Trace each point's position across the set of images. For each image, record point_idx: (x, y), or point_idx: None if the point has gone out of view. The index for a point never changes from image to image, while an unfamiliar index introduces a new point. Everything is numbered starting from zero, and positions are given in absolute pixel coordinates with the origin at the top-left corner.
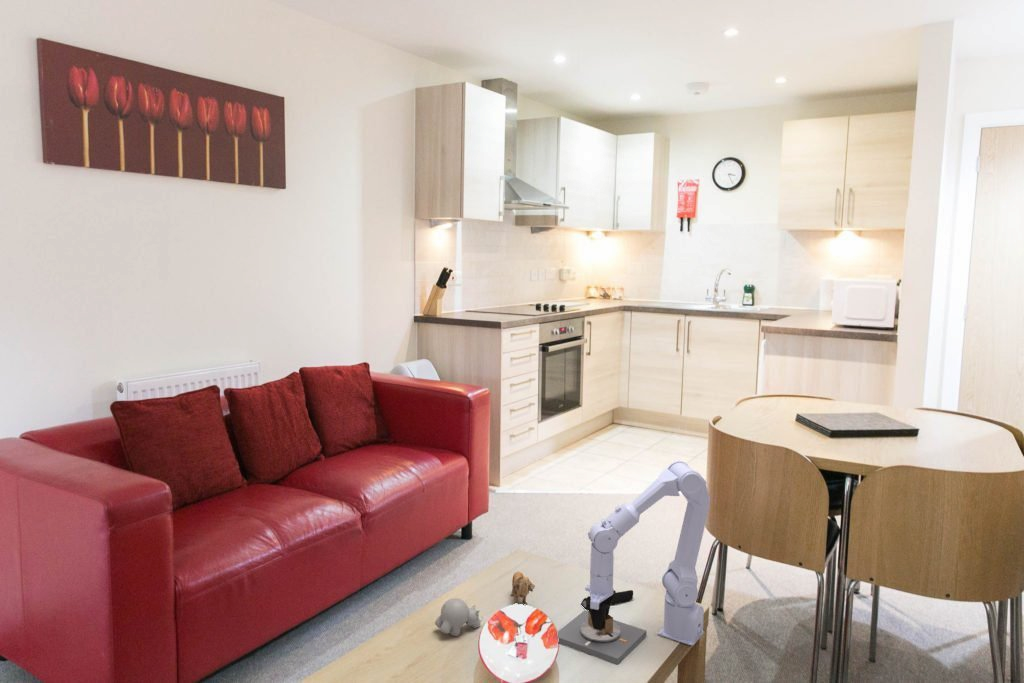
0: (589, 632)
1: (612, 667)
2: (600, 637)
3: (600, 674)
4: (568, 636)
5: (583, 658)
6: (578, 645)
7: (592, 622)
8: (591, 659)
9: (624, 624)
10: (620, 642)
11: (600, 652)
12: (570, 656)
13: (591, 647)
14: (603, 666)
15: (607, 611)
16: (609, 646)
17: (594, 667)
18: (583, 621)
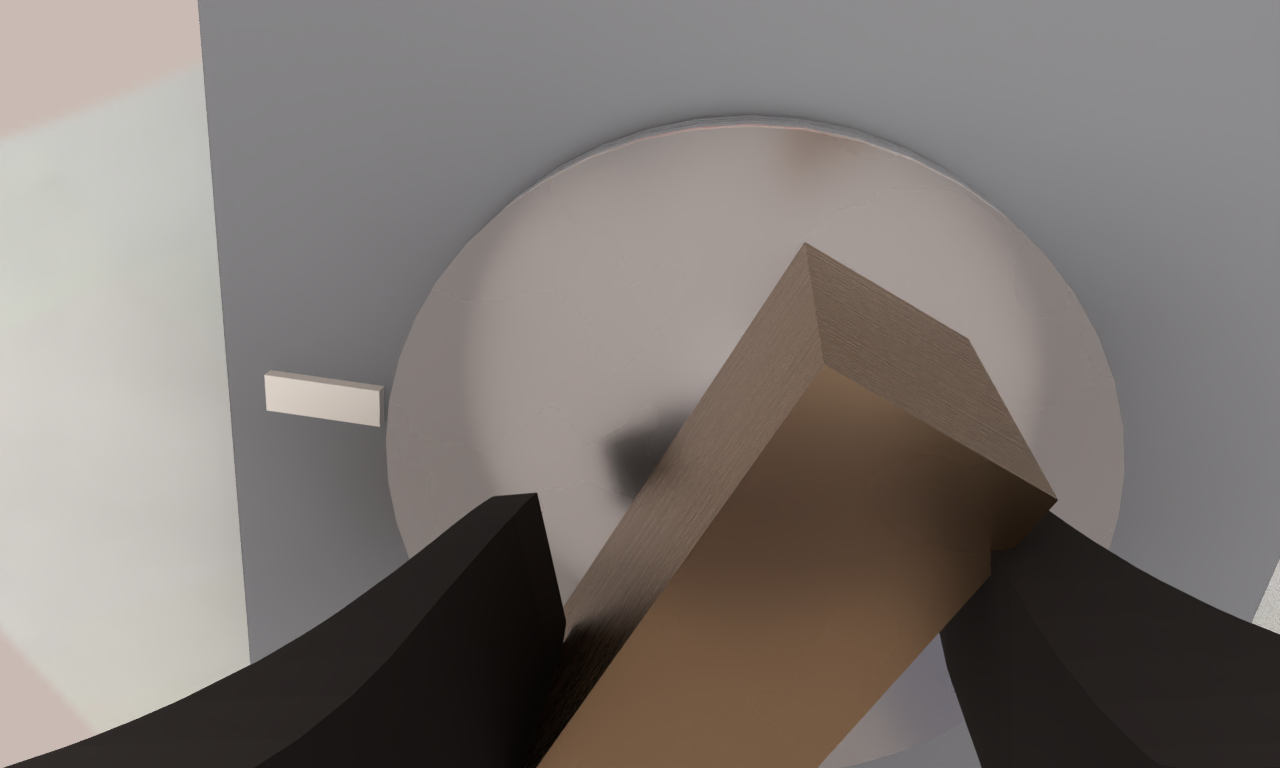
0: (494, 386)
1: None
2: None
3: (17, 648)
4: (331, 11)
5: (148, 385)
6: (228, 274)
7: (425, 552)
8: (197, 478)
9: None
10: None
11: (246, 611)
12: (66, 212)
13: (277, 474)
14: (167, 634)
15: (982, 738)
16: None
17: (80, 559)
18: (1023, 32)
